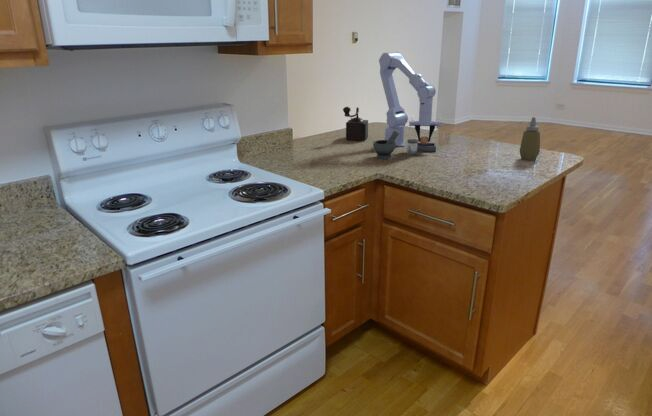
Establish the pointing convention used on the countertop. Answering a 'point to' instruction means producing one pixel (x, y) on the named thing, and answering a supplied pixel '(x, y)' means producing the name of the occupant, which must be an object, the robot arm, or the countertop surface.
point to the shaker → (412, 147)
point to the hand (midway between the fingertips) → (424, 141)
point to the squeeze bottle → (530, 142)
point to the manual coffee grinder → (355, 126)
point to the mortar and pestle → (385, 146)
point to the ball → (424, 140)
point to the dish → (426, 147)
